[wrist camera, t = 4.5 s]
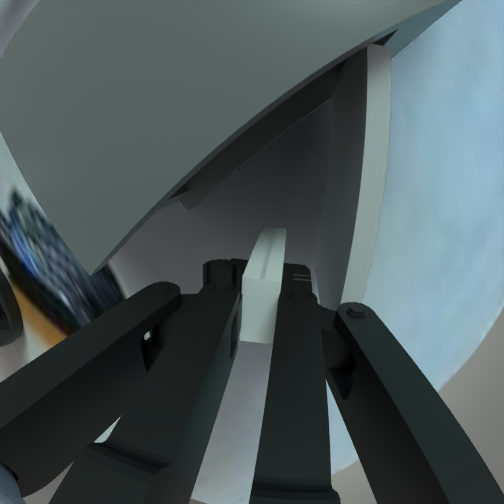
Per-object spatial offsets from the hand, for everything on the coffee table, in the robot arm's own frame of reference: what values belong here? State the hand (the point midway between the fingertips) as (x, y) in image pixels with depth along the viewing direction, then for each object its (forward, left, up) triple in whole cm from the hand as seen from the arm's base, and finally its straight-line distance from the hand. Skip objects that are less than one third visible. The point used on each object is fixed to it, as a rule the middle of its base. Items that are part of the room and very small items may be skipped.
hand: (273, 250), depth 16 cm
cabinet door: (+5, 0, -3) cm, 6 cm away
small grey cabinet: (+6, +11, -5) cm, 13 cm away
